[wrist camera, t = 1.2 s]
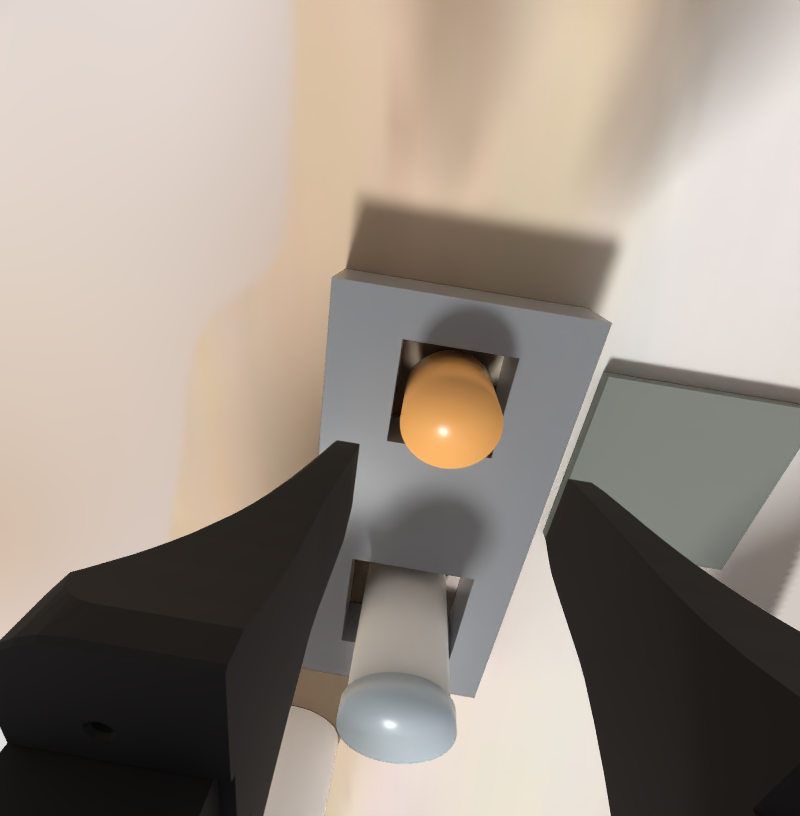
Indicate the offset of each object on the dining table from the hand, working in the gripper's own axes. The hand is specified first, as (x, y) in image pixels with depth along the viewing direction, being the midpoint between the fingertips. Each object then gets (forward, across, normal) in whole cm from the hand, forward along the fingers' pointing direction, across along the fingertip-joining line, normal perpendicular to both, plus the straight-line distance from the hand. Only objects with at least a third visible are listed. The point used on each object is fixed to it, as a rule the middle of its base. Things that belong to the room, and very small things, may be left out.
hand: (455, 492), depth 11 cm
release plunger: (+7, 0, 0) cm, 7 cm away
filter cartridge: (+8, 0, +12) cm, 15 cm away
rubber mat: (+8, -11, +3) cm, 14 cm away
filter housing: (+8, 0, +7) cm, 11 cm away
